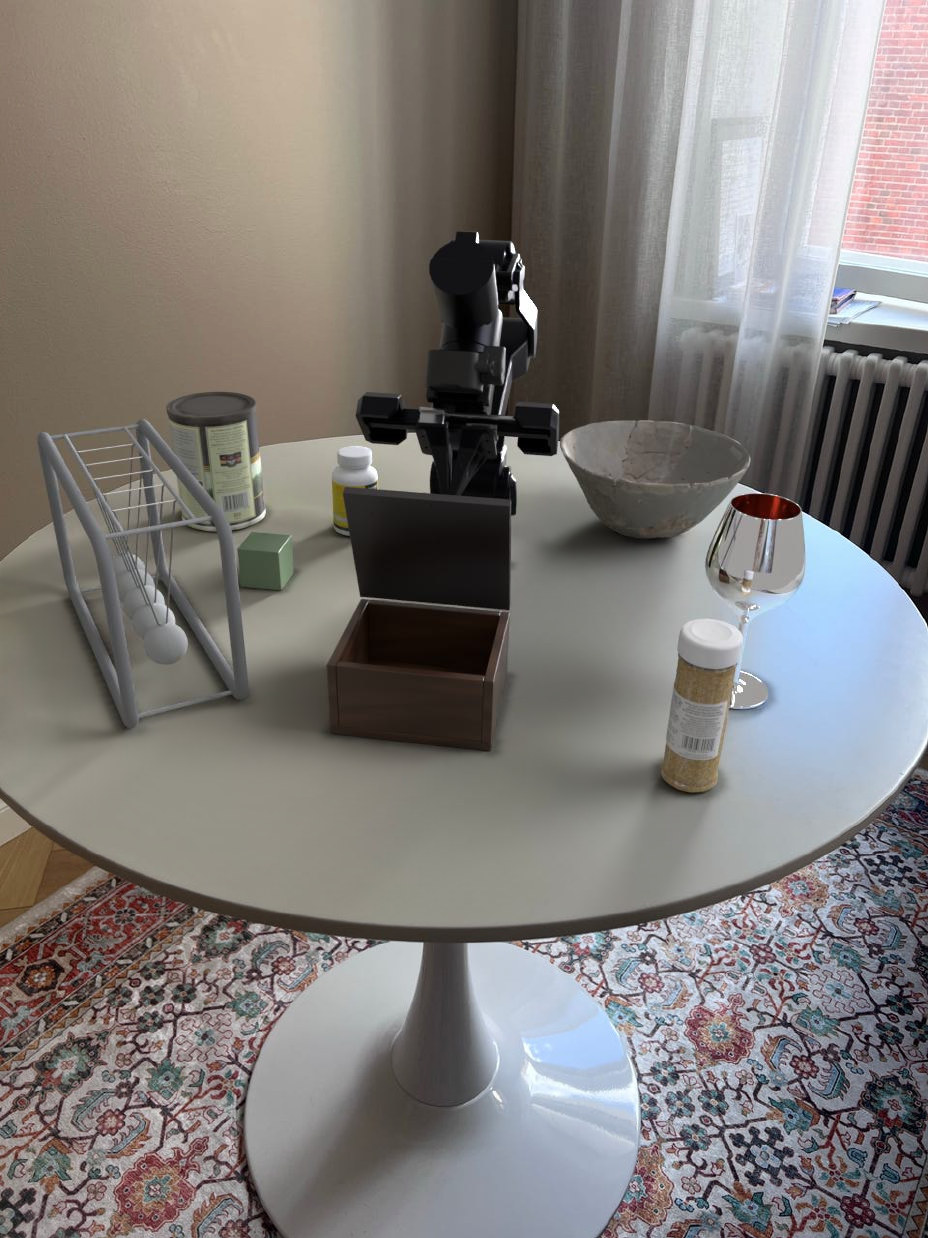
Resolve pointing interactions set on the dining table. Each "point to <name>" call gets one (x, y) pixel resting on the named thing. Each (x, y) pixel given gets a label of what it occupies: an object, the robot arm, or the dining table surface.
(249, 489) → the coffee can
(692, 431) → the ceramic bowl
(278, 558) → the block
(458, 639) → the walnut box
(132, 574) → the newton's cradle
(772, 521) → the wineglass
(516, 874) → the dining table surface
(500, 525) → the lid
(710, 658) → the sprinkles bottle
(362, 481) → the supplement bottle
